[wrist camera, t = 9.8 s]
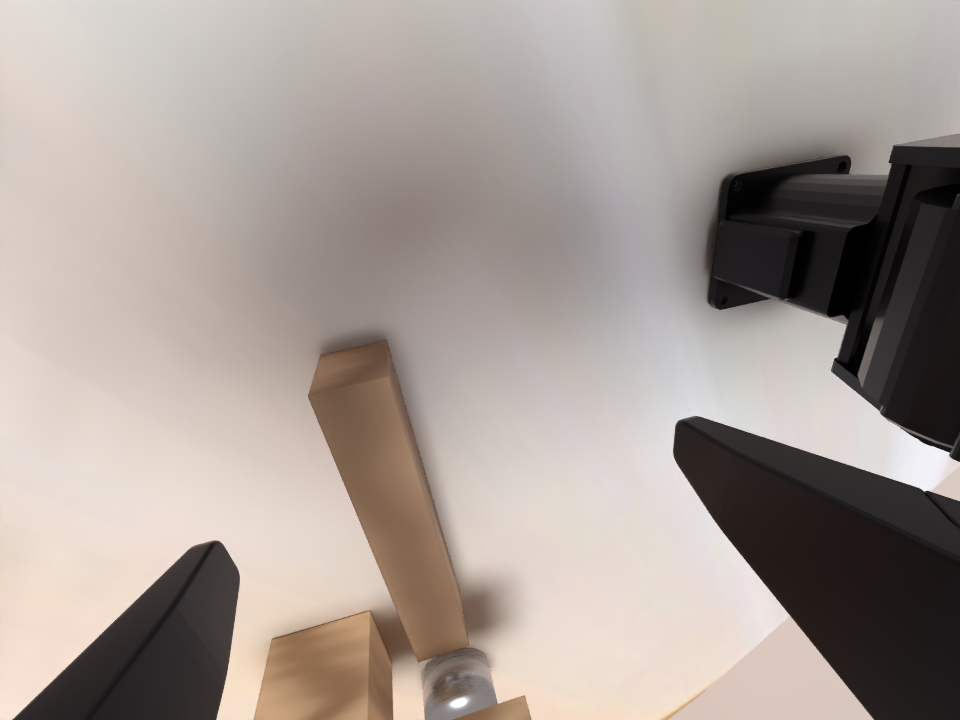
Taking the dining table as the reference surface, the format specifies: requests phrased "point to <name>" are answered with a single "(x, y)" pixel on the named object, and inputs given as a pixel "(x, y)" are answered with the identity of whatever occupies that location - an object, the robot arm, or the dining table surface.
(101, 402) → the dining table surface
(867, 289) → the robot arm
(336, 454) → the batten
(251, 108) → the dining table surface
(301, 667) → the l-shaped wooden block
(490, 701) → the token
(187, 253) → the dining table surface
